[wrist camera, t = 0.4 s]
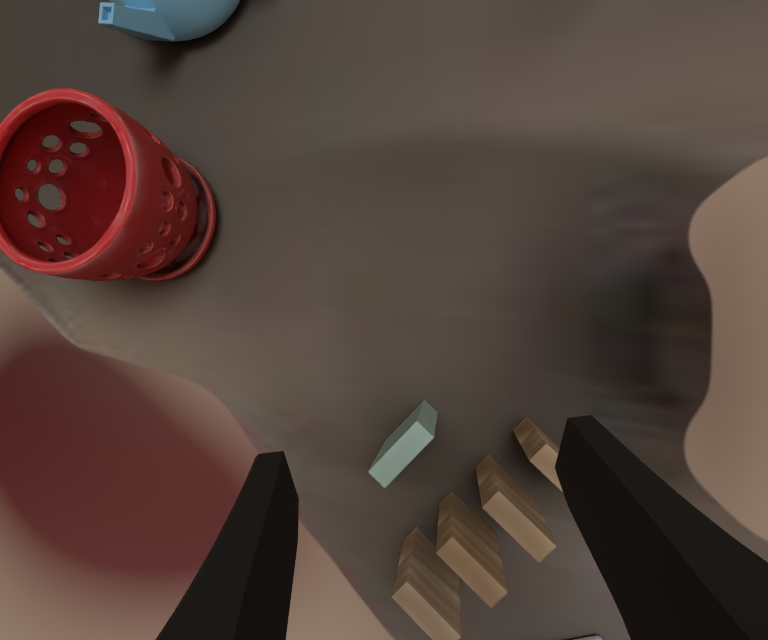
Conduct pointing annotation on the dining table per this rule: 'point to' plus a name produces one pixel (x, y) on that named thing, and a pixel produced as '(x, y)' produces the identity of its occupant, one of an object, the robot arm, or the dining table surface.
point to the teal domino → (404, 444)
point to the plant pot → (99, 194)
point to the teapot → (166, 17)
